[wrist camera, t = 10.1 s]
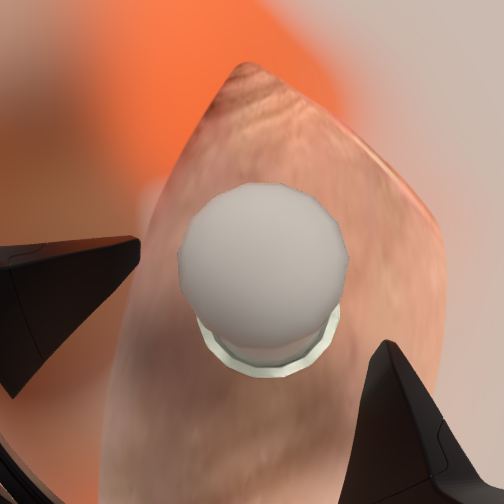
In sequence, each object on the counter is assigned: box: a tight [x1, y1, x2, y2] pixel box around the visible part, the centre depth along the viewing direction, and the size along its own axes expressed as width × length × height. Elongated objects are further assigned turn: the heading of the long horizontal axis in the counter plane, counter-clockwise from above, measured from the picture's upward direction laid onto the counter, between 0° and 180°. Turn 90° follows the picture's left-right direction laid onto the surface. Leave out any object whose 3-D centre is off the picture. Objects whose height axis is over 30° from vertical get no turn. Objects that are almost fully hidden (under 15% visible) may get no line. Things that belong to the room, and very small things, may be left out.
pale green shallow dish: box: [197, 304, 340, 378], centre depth 17 cm, size 9×9×2 cm
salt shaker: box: [177, 183, 349, 360], centre depth 12 cm, size 6×6×13 cm
